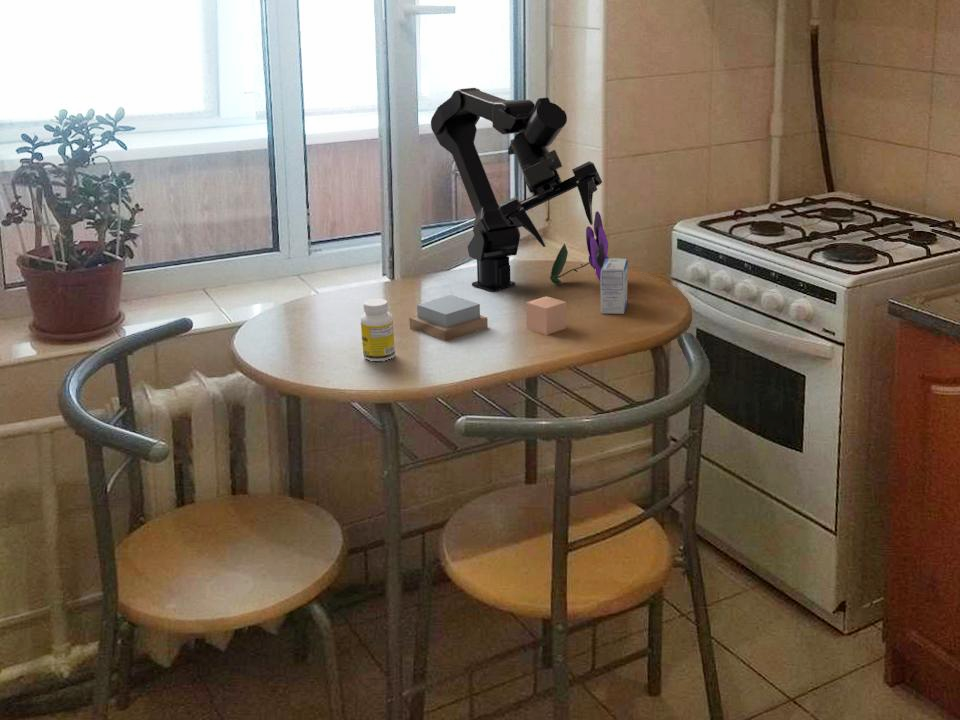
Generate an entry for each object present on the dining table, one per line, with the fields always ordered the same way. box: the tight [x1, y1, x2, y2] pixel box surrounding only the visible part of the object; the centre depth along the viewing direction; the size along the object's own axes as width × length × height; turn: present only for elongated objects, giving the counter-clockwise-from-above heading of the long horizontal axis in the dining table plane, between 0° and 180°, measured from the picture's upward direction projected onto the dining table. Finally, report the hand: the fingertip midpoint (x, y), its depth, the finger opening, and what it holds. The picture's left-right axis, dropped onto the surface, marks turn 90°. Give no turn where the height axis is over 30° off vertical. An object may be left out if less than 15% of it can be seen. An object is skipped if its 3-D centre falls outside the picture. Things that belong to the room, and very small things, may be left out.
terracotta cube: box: [525, 295, 567, 336], centre depth 200 cm, size 5×5×5 cm
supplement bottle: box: [360, 298, 396, 362], centre depth 187 cm, size 5×5×10 cm
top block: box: [416, 294, 481, 328], centre depth 201 cm, size 8×8×2 cm
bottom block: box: [409, 314, 489, 342], centre depth 202 cm, size 10×10×2 cm
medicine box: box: [600, 257, 629, 315], centre depth 209 cm, size 8×4×9 cm, turn 168°
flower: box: [549, 210, 610, 286], centre depth 222 cm, size 15×15×14 cm
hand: (567, 235), depth 198 cm, fingers open, 9 cm apart
